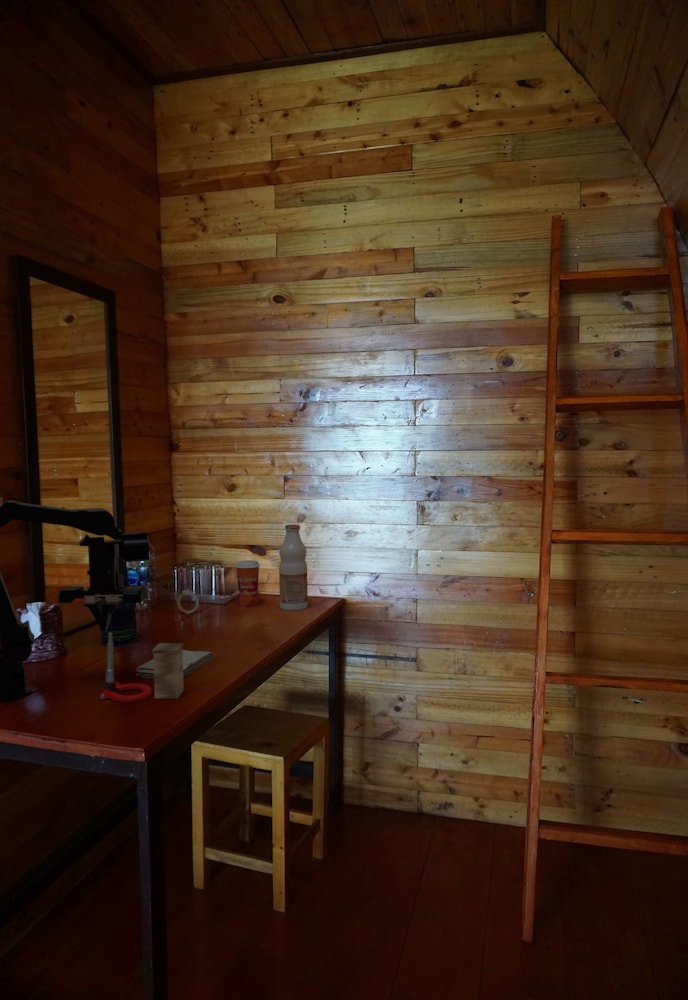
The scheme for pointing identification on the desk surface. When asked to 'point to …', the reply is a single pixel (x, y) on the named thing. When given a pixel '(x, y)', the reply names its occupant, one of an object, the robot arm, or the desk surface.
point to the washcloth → (190, 663)
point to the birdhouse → (168, 670)
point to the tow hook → (113, 686)
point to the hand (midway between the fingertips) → (104, 631)
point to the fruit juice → (293, 571)
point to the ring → (183, 595)
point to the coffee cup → (248, 582)
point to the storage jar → (121, 624)
